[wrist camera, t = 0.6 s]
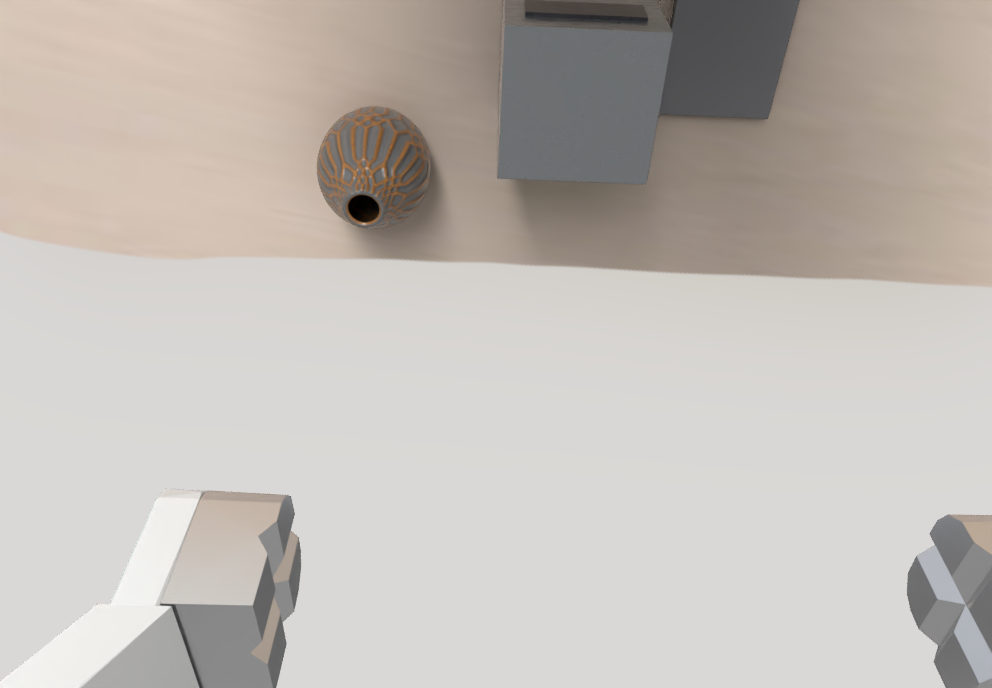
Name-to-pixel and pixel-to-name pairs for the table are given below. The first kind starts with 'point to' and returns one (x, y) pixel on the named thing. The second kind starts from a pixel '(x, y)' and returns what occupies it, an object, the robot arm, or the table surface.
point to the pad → (726, 57)
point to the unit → (580, 89)
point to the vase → (373, 167)
